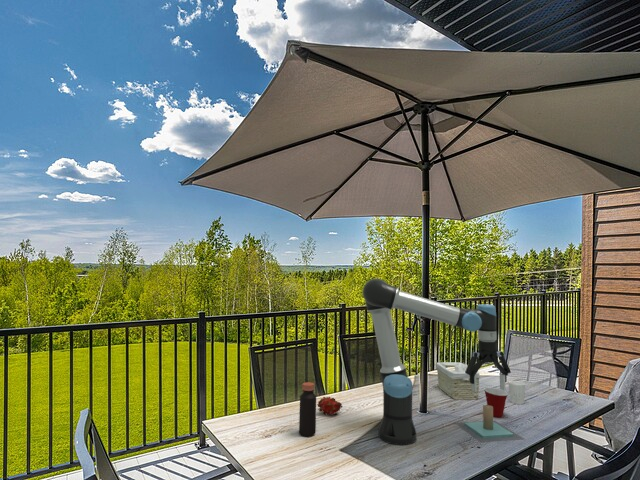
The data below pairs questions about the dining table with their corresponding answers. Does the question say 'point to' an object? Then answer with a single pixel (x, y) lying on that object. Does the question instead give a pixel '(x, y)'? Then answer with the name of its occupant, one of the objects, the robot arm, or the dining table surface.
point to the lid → (488, 426)
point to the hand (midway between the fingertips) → (488, 390)
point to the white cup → (517, 392)
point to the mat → (516, 437)
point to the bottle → (307, 411)
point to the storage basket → (456, 380)
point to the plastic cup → (496, 400)
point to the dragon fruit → (329, 405)
